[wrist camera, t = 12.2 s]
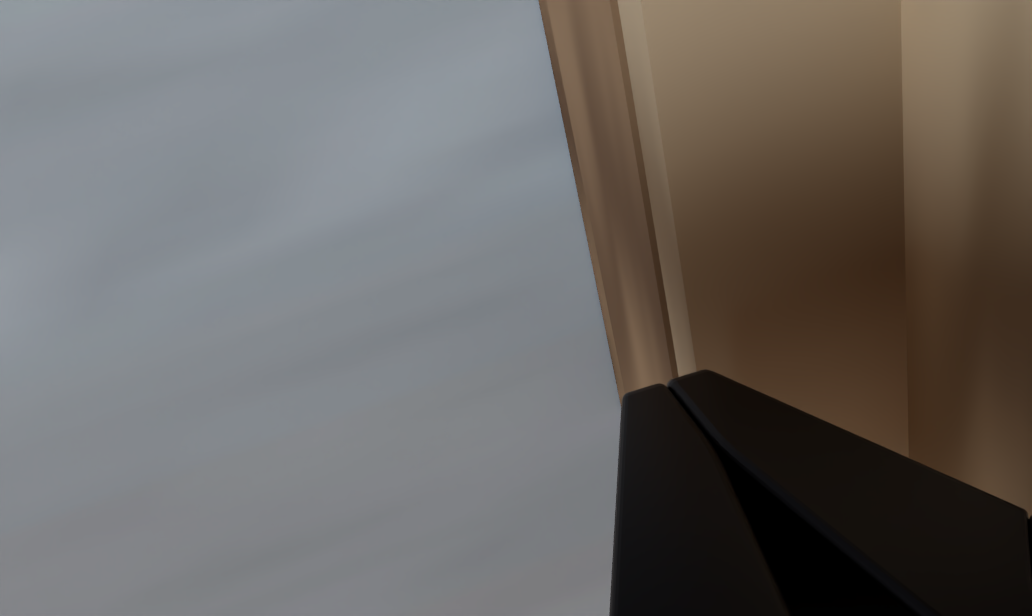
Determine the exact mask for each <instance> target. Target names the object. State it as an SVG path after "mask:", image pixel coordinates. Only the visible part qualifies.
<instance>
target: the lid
mask: <svg viewBox="0 0 1032 616" xmlns="http://www.w3.org/2000/svg"><path fill="white" fill-rule="evenodd" d="M617 1H618V7H619V13H620V19H621V25H622V31H623V38H624V44H625V50H626V56H627V62H628V68H629V74H630V80H631V87H632V93H633V99H634V105H635V111H636V117H637V123H638V130H639V136H640V142H641V148H642V154H643V160H644V166H645V173H646V179H647V185H648V191H649V197H650V203H651V209H652V216H653V222H654V228H655V234H656V240H657V246H658V252H659V258H660V265H661V271H662V277H663V283H664V289H665V295H666V301H667V308H668V314H669V320H670V326H671V332H672V338H673V344H674V351H675V357H676V363H677V369H678V375H679V377H680V376H683V375H686V374H690V373H693V372H696V371H699V370H704V369H707V370H711V371H714V372H716V373H718V374H721V375H723V376H725V377H728V378H730V379H732V380H734V381H737V382H739V383H741V384H743V385H746V386H748V387H750V388H752V389H755V390H757V391H759V392H761V393H764V394H766V395H768V396H770V397H773V398H775V399H777V400H779V401H782V402H784V403H786V404H788V405H791V406H793V407H795V408H797V409H800V410H802V411H804V412H806V413H809V414H811V415H813V416H816V417H818V418H820V419H822V420H825V421H827V422H829V423H831V424H834V425H836V426H838V427H840V428H843V429H845V430H847V431H849V432H852V433H854V434H856V435H858V436H861V437H863V438H865V439H867V440H870V441H872V442H874V443H876V444H879V445H881V446H883V447H885V448H888V449H890V450H892V451H894V452H897V453H899V454H901V455H903V456H906V457H908V458H910V459H913V460H915V461H917V462H919V463H922V464H924V465H926V466H928V467H931V468H933V469H935V470H937V471H940V472H942V473H944V474H946V475H949V476H951V477H953V478H955V479H958V480H960V481H962V482H964V483H967V484H969V485H971V486H973V487H976V488H978V489H980V490H982V491H985V492H987V493H989V494H991V495H994V496H996V497H998V498H1000V499H1003V500H1005V501H1007V502H1010V503H1012V504H1014V505H1016V506H1019V507H1021V508H1023V509H1025V510H1026V511H1027V512H1028V516H1029V518H1030V516H1031V515H1032V0H617Z"/></svg>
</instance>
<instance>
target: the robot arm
mask: <svg viewBox="0 0 1032 616" xmlns="http://www.w3.org/2000/svg"><path fill="white" fill-rule="evenodd" d="M609 616H1032V515H1031V516H1030V518H1029V516H1028V512H1027V511H1026V510H1025V509H1023V508H1021V507H1019V506H1016V505H1014V504H1012V503H1010V502H1007V501H1005V500H1003V499H1000V498H998V497H996V496H994V495H991V494H989V493H987V492H985V491H982V490H980V489H978V488H976V487H973V486H971V485H969V484H967V483H964V482H962V481H960V480H958V479H955V478H953V477H951V476H949V475H946V474H944V473H942V472H940V471H937V470H935V469H933V468H931V467H928V466H926V465H924V464H922V463H919V462H917V461H915V460H913V459H910V458H908V457H906V456H903V455H901V454H899V453H897V452H894V451H892V450H890V449H888V448H885V447H883V446H881V445H879V444H876V443H874V442H872V441H870V440H867V439H865V438H863V437H861V436H858V435H856V434H854V433H852V432H849V431H847V430H845V429H843V428H840V427H838V426H836V425H834V424H831V423H829V422H827V421H825V420H822V419H820V418H818V417H816V416H813V415H811V414H809V413H806V412H804V411H802V410H800V409H797V408H795V407H793V406H791V405H788V404H786V403H784V402H782V401H779V400H777V399H775V398H773V397H770V396H768V395H766V394H764V393H761V392H759V391H757V390H755V389H752V388H750V387H748V386H746V385H743V384H741V383H739V382H737V381H734V380H732V379H730V378H728V377H725V376H723V375H721V374H718V373H716V372H714V371H711V370H707V369H704V370H699V371H696V372H693V373H690V374H686V375H683V376H680V377H677V378H673V379H671V380H669V382H668V383H667V386H665V385H664V384H661V383H658V384H654V385H650V386H647V387H644V388H640V389H637V390H634V391H631V392H628V393H626V394H625V395H624V396H623V398H622V406H621V423H620V441H619V458H618V475H617V493H616V510H615V528H614V545H613V562H612V580H611V597H610V615H609Z"/></svg>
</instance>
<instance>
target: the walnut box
mask: <svg viewBox="0 0 1032 616" xmlns="http://www.w3.org/2000/svg"><path fill="white" fill-rule="evenodd" d="M539 5H540V10H541V15H542V20H543V25H544V29H545V34H546V39H547V44H548V49H549V54H550V59H551V64H552V69H553V74H554V79H555V84H556V88H557V93H558V98H559V103H560V108H561V113H562V118H563V123H564V128H565V133H566V138H567V143H568V147H569V152H570V157H571V162H572V167H573V172H574V177H575V182H576V187H577V192H578V197H579V202H580V206H581V211H582V216H583V221H584V226H585V231H586V236H587V241H588V246H589V251H590V256H591V261H592V265H593V270H594V275H595V280H596V285H597V290H598V295H599V300H600V305H601V310H602V315H603V320H604V324H605V329H606V334H607V339H608V344H609V349H610V354H611V359H612V364H613V369H614V374H615V379H616V383H617V388H618V393H619V398H620V403H621V406H622V398H623V396H624V395H625V394H626V393H628V392H631V391H634V390H637V389H640V388H644V387H647V386H650V385H654V384H658V383H661V384H664V385H665V386H667V383H668V382H669V380H671V379H673V378H677V377H679V375H678V369H677V363H676V357H675V351H674V344H673V338H672V332H671V326H670V320H669V314H668V308H667V301H666V295H665V289H664V283H663V277H662V271H661V265H660V258H659V252H658V246H657V240H656V234H655V228H654V222H653V216H652V209H651V203H650V197H649V191H648V185H647V179H646V173H645V166H644V160H643V154H642V148H641V142H640V136H639V130H638V123H637V117H636V111H635V105H634V99H633V93H632V87H631V80H630V74H629V68H628V62H627V56H626V50H625V44H624V38H623V31H622V25H621V19H620V13H619V7H618V1H617V0H539Z"/></svg>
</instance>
